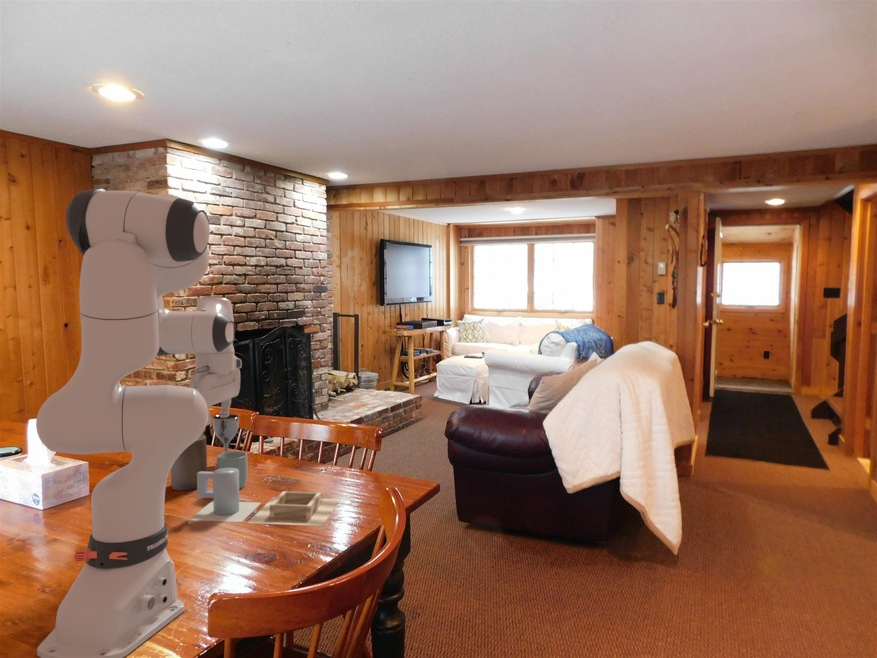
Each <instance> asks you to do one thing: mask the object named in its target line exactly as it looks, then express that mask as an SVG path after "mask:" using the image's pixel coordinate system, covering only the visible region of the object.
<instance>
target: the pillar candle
mask: <svg viewBox="0 0 877 658" xmlns="http://www.w3.org/2000/svg"><path fill="white" fill-rule="evenodd" d="M207 451H208V450H207V435H205V434H202V435H201V436H200V437H199V438H198V439H197V440H196V441H195V442H194V443H193V444H191V445H190V446H189V447H188V448H186V449H185V450H184V451H183V452H182V453H181V455H180V456H179V457H178V458H177V460H176V461H175V463H174V464H173V466H172V468H171V470H170V482H171V483H170V486H171V488H172V489H173V490H175V491H191V490H197V473H198V472H200V471H206V472H208V461H207V460H208V454H207Z"/></svg>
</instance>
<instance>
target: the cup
mask: <svg viewBox="0 0 877 658" xmlns="http://www.w3.org/2000/svg"><path fill="white" fill-rule="evenodd" d="M216 461H217V465H216V470H217V469H221V468H237V469H239V490H241V489H243V488H244V487H245V486H246V484H247V480H248V453H247V452H246V451H239V450H231V451H228V452H225V451H223V452H222V453H219V454H218V455H217V457H216Z"/></svg>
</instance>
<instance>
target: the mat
mask: <svg viewBox="0 0 877 658" xmlns="http://www.w3.org/2000/svg"><path fill="white" fill-rule="evenodd" d="M261 504H262V502H258V501H257V502H256V501H255V502H253V501H251V502H250V501H239V511H238V512H237V513H235V514H231V515H224V516H221V515H215V514H214V513H213V500H212V501H210V502H209V503H208V504H206V505H205V506H204V507H203V508H202V509H200V510H199V511H197V513H195V514H194V515H193V516H192V517H190V518H189V519H188V520H187V525H191V524H192V523H193V522H195V521H197V522H199V521H200V522H226V523H227V522H228V523H243V522H244V521H245V520H246V518H247V517H248V516H250V515H251V514H252V513H253V512H254V511H255V510H256V509H257V508H258V507H259V506H260V505H261Z"/></svg>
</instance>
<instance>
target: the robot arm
mask: <svg viewBox="0 0 877 658" xmlns="http://www.w3.org/2000/svg"><path fill="white" fill-rule="evenodd" d="M65 224H66V229H67V233H68V235H69V237H70V239H71V241H72V242H73V244H74V246H76V248H77V249H78V250H79V252H80V254H81V255H82V256H83V257H82V261H81V268H80V275H79V291H78V292H79V295H78V296H79V298H78V300H79V315H80V328H81V332H80V333H81V338H80V339H81V350H80V351H81V352H80V358H79V360H78V365H77V368H76V369H75V371H74V373H73V375H72V376H71V378H70V379H69V380H68V381H67V382H66V384H65V385H64V386H62V387H61V388H60V389H59V390H57V391H56V392H54V393H53V394H51V395H50V396H49V397H47V399H46V400H45V401H44V402H43V403H42V405H41V406H40V408H39V410H38V412H37V415H36V420H35V421H36V423H35V425H36V433H37V435H38V438H39V440H40V441H41V443H42V445H44V446H45V447H46V449H48V450H49V451H50V452H55V453H64V454H70V455H71V454H72V455H73V454H74V455H94V454H95V455H96V454H108V453H109V454H110V453H118V452H119V453H120V452H126V453H127V452H128V453H131V455H132V456H131V457H132V459H131V461H130V462H129V463H128V464H126V465H125V466H123V467H121V468H118V469H117V470H114V471H112V472H110V473H109V474H108V475H106V476H105V477H103V478H102V479H101V480H100V481H98V482H97V483H96V485H95V486H94V488H93V490H92V493H91V497H90V498H91V500H90V501H91V505H90V506H91V534H90V536H89V538H88V543H87V546H86V548H81V547H80V548H77V549H76V550H75V553H74V556H73V558H74V559H73V560H74V561H75V562H79V563H80V562H84V565H83V567H82V569H81V570H80V572H79V574H78V575H77V576H76V578H75V580H74V582H73V584H71V586H70V588H69V590H68V591H67V593H66V595H65V596H64V598H63V600H62V601H61V603H60V604H59V607H58V608H57V610H56V617H55V618H56V619H55V627H54V628H53V629H52V631H51V632H50V633H49V634H47V636H46V638H44V639H43V641H42V642H41V643H40V644H39V645H38V647H37V648H36V655H37V656H38V657H39V658H125V657H127V655H129V654H130V653H132V652H133V651H134V650H135V649H137V648H138V647H139V646H141V645H142V644H143V643H144V642H146V641H147V640H148V639H149V638H151V637H152V636H154V635H155V634H157V633H158V632H159V631H160V630H161V629H163V628H164V627H166V626H167V625H168V624H169V623H171V622H172V621H173V620H175V619H176V618H177V617H178V616H180V615H181V614H182V613H183V612H184V611H186V607H185V603H184V601H182V600H180V599H179V594H178V588H177V586H178V585H177V576H176V567H175V563H174V561H173V560H172V558H171V556H170V555H169V553H168V550H167V547H168V542H169V540H168V539H169V530H168V524H167V522H166V521H165V500H166V498H165V497H166V488H167V487H166V486H167V484H168V483H167V482H168V478H169V476H170V474H171V468H172V466H173V464H174V463H175V461H176V460H177V458H178V457H179V456H180V455H181V453H182V452H183V451H184V450H185V449H186V448H188V447H189V446H190V445H191V444H193V443H194V442H195V441H196V440H197V439H198V438H199V437H200V436H201V435H203V433H204V431H205V430H206V427H207V426H209V425H212V424H213V416H211V415H210V412H211V406H214V405H217V404H219V403H221V406H220V407H221V408H220V410H219V415H220V417H221V418H226V417H228V416H229V414H230V408H231V404H232V399H233V398H237V396H239V393H240V390H241V370H240V369H241V368H242V365H243V363H242V359H241V358H239V357H237V356H236V355H235V348H234V345H233V344H234V341H235V340H236V339H235V336H236V334H235V333H236V331H235V330H236V325H235V321H234V319H235V318H234V312H233V311H234V310H233V305H232V302H231V300H230V299H228V298H226V297H223V296H215V295H214V296H213V295H210V296H202V297H200V298H198V299H197V303H196V311H195V310H193V311H190V310H188V311H186V310H184V311H183V310H182V311H181V310H179V311H177V310H176V311H175V310H170V309H168V308H167V309H166V308H165V307H164V306H165V305H164V298H163V296H164V295H167V294H170V293H174V292H180V291H183V290H187V289H189V288H191V287H192V286H194V285H196V284H197V283H198V282H200V281H201V280H202V279H203V278H204V276H205V275H206V273H207V271H208V268H209V264H210V258H209V252H208V251H209V250H208V244H209V242H210V241H209V239H210V234H211V233H210V230H211V229H210V220H209V217H208V214H207V212H206V211H205V209H203V208H202V206H201V205H200V204H198V203H196V202H194V201H192V200H189V199H186V198H181V197H180V196H178V195H174V194H171V193H161V194H160V193H159V194H152V193H145V192H144V191H143V192H142V191H139V190H138V191H135V190H106V189H104V188H95V189H94V188H93V189H86V190H81V191H79V192H77V193H76V194H75V195H74V196H73V197H72V198H71V200H70V202H68V205H67V209H66V212H65ZM190 354H191V355H193V354H194V356H195V357H194V358H195V371H194V373H193V375H191V378H190V381H189V387H187V386H183V385H182V386H181V385H173V384H154V385H153V384H152V385H131V386H130V385H129V386H127V385H122V384H121V380H123V378H125V377H127V376H129V375H131V374H133V373H135V372H137V371H140V370H141V369H143V368H145V367H147V366H148V365H149V364H151V363H152V362H153V361H154V360H155V358H156V357H157V356H158V357H159V356H168V355H169V356H170V355H190Z"/></svg>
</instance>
